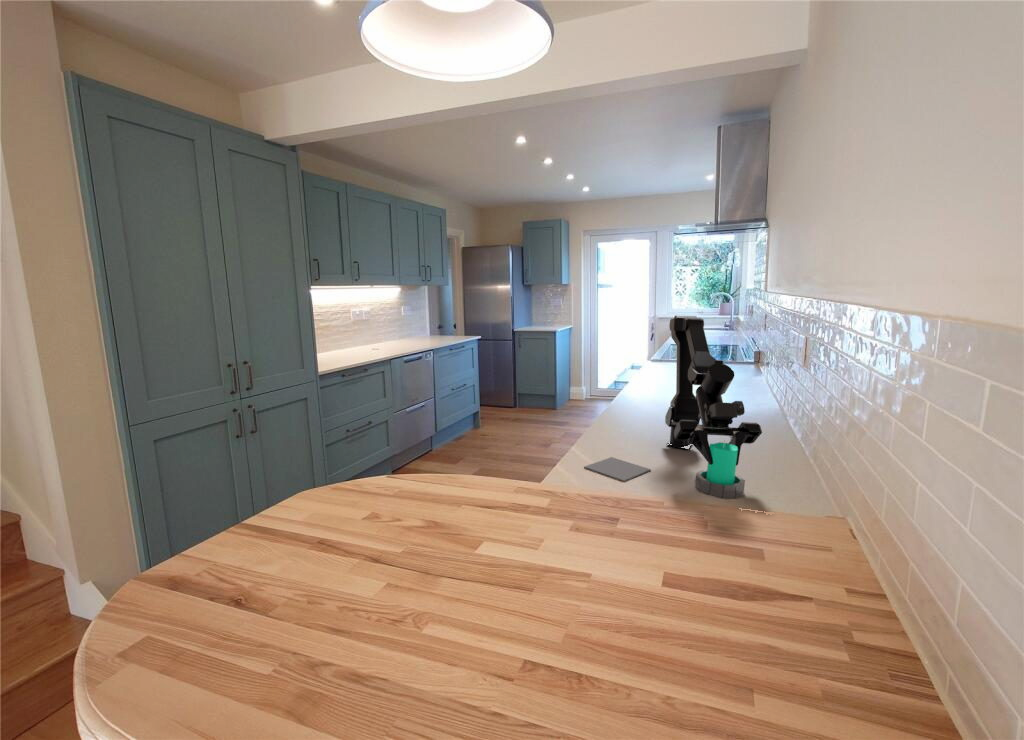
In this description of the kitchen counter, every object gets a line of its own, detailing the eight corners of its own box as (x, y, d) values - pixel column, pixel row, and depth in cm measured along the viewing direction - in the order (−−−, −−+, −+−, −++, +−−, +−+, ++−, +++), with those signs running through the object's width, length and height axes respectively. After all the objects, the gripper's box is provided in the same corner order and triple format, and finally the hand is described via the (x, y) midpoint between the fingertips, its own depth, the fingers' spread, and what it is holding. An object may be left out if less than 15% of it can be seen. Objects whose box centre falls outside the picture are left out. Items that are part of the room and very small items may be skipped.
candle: (727, 485, 114) (733, 436, 113) (736, 495, 109) (742, 444, 107) (701, 483, 115) (706, 435, 113) (709, 493, 109) (714, 442, 107)
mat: (611, 458, 131) (611, 457, 131) (650, 470, 123) (650, 469, 123) (584, 468, 123) (584, 466, 123) (624, 482, 115) (624, 480, 114)
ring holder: (699, 478, 119) (700, 466, 118) (745, 487, 114) (746, 475, 113) (691, 491, 110) (692, 479, 110) (740, 502, 105) (742, 489, 104)
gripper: (681, 386, 113) (692, 446, 103) (763, 389, 112) (781, 450, 103) (669, 411, 121) (678, 468, 112) (744, 414, 121) (760, 472, 112)
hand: (724, 464), depth 109 cm, fingers closed on candle, 5 cm apart
